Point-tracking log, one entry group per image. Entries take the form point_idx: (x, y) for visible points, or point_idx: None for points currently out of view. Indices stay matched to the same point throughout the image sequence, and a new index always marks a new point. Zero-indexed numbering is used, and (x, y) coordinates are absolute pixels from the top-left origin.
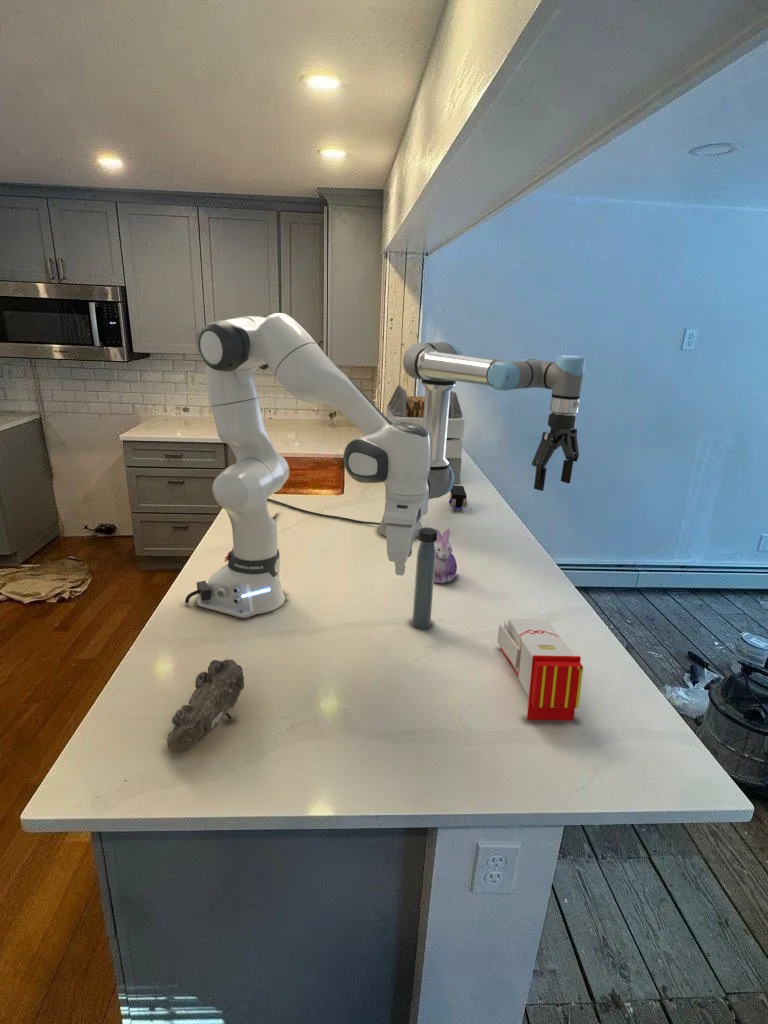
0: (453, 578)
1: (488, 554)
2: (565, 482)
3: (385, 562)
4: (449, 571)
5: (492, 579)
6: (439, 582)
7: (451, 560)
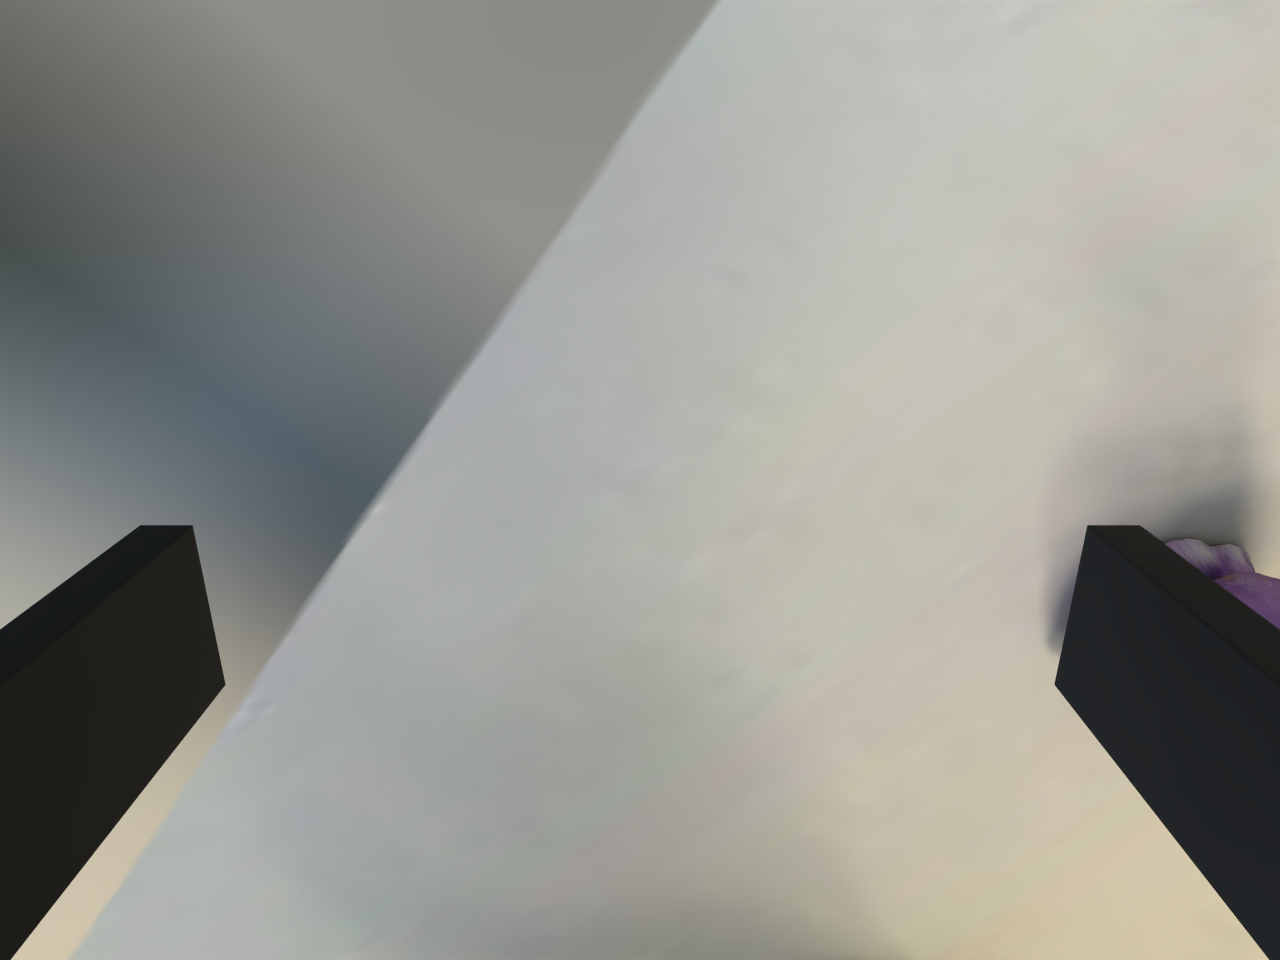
0: None
1: (682, 645)
2: (205, 589)
3: None
4: None
5: (967, 417)
6: (1249, 560)
7: None
